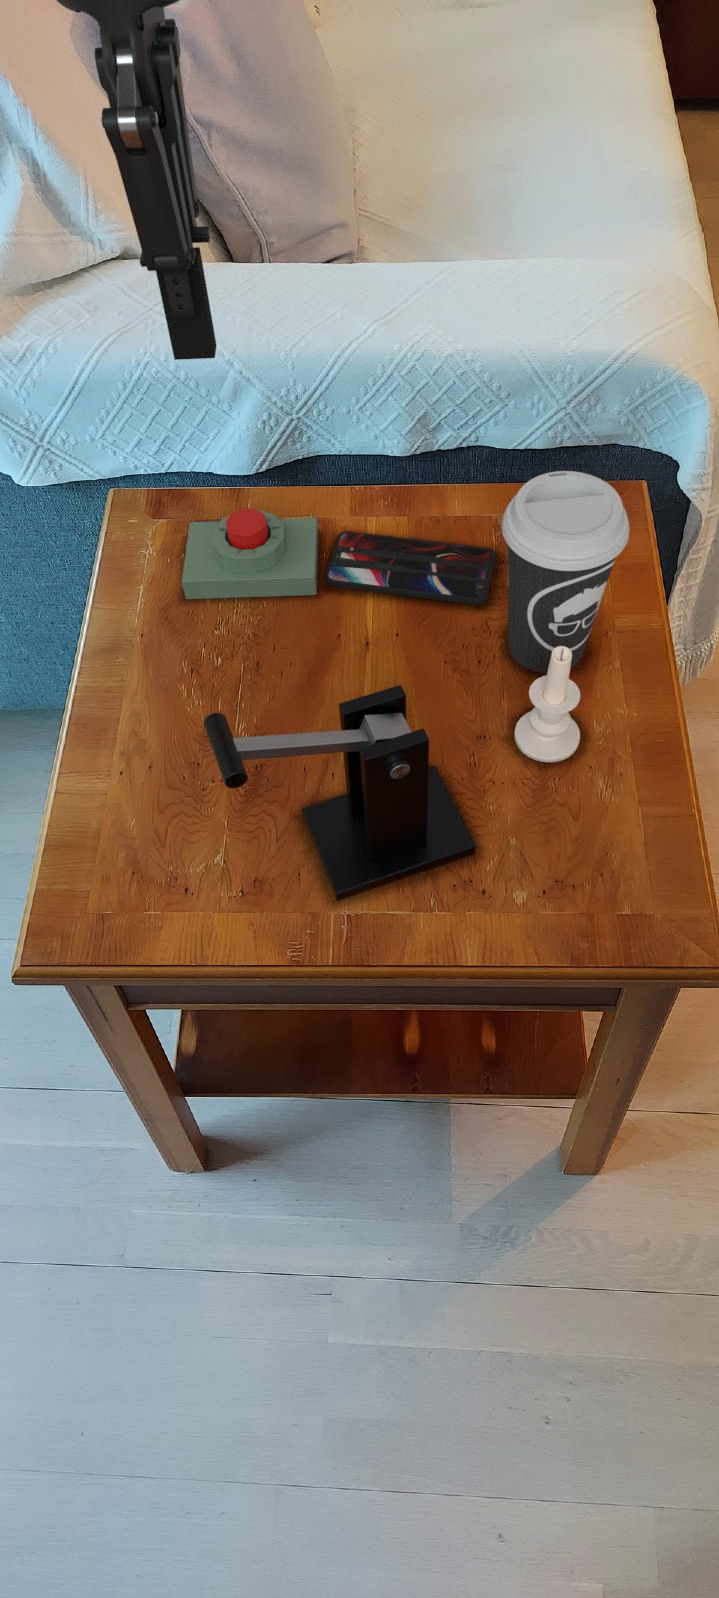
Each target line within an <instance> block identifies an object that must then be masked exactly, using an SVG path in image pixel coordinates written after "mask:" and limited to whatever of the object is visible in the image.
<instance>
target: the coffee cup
mask: <svg viewBox="0 0 719 1598" xmlns="http://www.w3.org/2000/svg"><path fill="white" fill-rule="evenodd" d="M630 531H631V530H630V521H629V517H628V513H627V510H626V508H625V506H624V505H623V501H622V498H621V496H620V495H619V493H618V491H617V490H616V489H615V488H614V487H613V486H612V485H611V484H609V483H608V482H607V481H605V480H603V479H601V478H600V477H597V476H594V475H592V474H589V473H585V472H580V471H575V470H574V471H572V470H557V471H551V472H546V473H542V474H540V475H537V476H535V477H533V478H531V479H530V480H528V481H527V482H526V483H524V484H523V485H522V487H520V489H519V490H518V492H517V493H516V494H515V495H514V496H513V497H512V499H511V500H510V501H509V502H508V505H507V506H506V509H505V511H504V513H503V516H502V519H501V534H502V536H503V538H504V541H505V542H506V544H507V643H508V651H509V653H510V655H511V656H512V658H513V660H514V661H516V662H517V663H518V664H519V665H520V666H522V667H523V668H525V669H527V670H530V671H532V672H535V673H541V674H547V672H548V667H549V663H550V659H551V654H552V651H553V650H554V649H555V648H556V647H558V646H565V647H567V648H569V649H570V651H571V652H572V660H571V667H570V669H571V668H573V667H575V666H576V665H577V664H578V663H579V662H580V660H581V659H582V657H583V656H584V652H585V650H586V646H587V644H588V641H589V638H590V634H591V632H592V628H593V625H594V623H595V620H596V617H597V613H598V611H599V608H600V605H601V601H602V599H603V597H604V593H605V590H606V587H607V584H608V581H609V578H610V575H611V572H612V569H613V567H614V564H615V561H616V558H617V557H618V556H619V555H621V553H622V552H623V550H624V549H625V548H626V546H627V544H628V542H629V538H630V533H631V532H630Z"/></svg>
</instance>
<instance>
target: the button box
mask: <svg viewBox="0 0 719 1598" xmlns="http://www.w3.org/2000/svg"><path fill="white" fill-rule="evenodd" d="M257 510H258V511H260V512H262V513H263V514H264V516H265V517H266V522H267V528H268V539H267V541H266V542H265V543H264V544H263V545H262V546H259V547H257V548H255V549H242V550H241V549H238V548H235V547H234V546H233V545H232V544H231V543H230V541H229V538H228V532H227V527H226V521H227V519H228V517H229V516H230V515H231V514H228V515H226V516H224V517H222V518H221V519H220V520H217V521H216V520H215V521H212V520H211V521H190V522H189V526H188V534H187V541H186V549H185V556H184V562H183V569H182V574H181V575H182V576H181V585H182V589H183V593H184V596H185V599H186V600H203V599H204V600H205V599H233V598H235V599H236V598H238V599H239V598H265V597H267V598H269V597H295V596H296V597H297V596H300V597H301V596H317V594H318V573H319V572H318V571H319V540H320V539H319V538H320V536H319V535H320V534H319V525H318V518H317V517H303V518H302V517H301V518H300V517H299V518H279V517H277V515H276V514H273V513H271V512H267V511H265V510H263V509H257Z"/></svg>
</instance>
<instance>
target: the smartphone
mask: <svg viewBox="0 0 719 1598" xmlns="http://www.w3.org/2000/svg"><path fill="white" fill-rule="evenodd" d="M496 561H497V553H496V551H495V550H494V549H493V548H489V547H483V546H482V547H481V546H475V545H474V546H473V545H466V544H457V543H448V542H441V541H432V540H425V539H418V538H417V539H416V538H409V537H399V536H391V535H385V534H384V535H383V534H376V533H375V534H373V533H366V532H359V531H350V530H346V531H342V532H340V533H339V534H338V535H337V538H336V541H335V544H334V547H333V550H332V552H331V556H330V559H329V562H328V564H327V567H326V571H325V573H324V582H325V584H326V585H327V586H329V587H334V588H340V589H341V588H342V589H349V590H355V591H363V592H373V593H381V594H386V595H387V594H388V595H396V596H403V597H409V598H410V597H411V598H417V599H418V598H419V599H425V600H433V601H442V602H449V603H457V604H464V605H471V606H482V605H484V604H485V603H487V602H488V599H489V594H490V589H491V586H492V579H493V575H494V571H495V570H494V569H495V565H496Z"/></svg>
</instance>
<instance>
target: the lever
mask: <svg viewBox="0 0 719 1598" xmlns="http://www.w3.org/2000/svg"><path fill="white" fill-rule="evenodd" d="M203 727H204V729H205V733H206V735H207V738H208V741H209V743H210V746H211V749H212V752H213V755H214V757H215V760H216V764H217V766H218V769H219V772H220V775H221V777H222V780H223V783H224V785H225V787H226V788H229V789H237V788H240V787H242V786H244V785H245V784H246V783H247V781H248V780H249V776H248V773H247V771H246V768H245V765H244V763H243V761H248V760H249V761H250V760H251V761H252V760H264V759H275V758H288V757H289V758H290V757H300V756H313V755H314V756H315V755H324V754H326V755H327V754H338V753H343V752H352V751H360V748H363V747H366V746H369V745H373V744H376V743H379V742H382V741H385V740H388V739H392V738H395V737H398V736H401V735H404V734H407V733H411V732H412V730H411V728H410V726H409V724H408V722H407V719H406V720H405V718H404V716H403V714H402V713H391V714H375V715H365V716H364V718H363V720H362V723H361V725H360V728H359V729H354V730H341V729H339V730H328V731H327V730H326V731H311V732H298V733H283V734H267V735H255V736H241V737H240V736H239V737H234V736H233V733H232V731H231V728H230V724H229V723H228V720H227V717H226V716H225V714H224V713H221V712H213V713H210V714H208V715H207V716H205V718H204V720H203Z"/></svg>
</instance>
